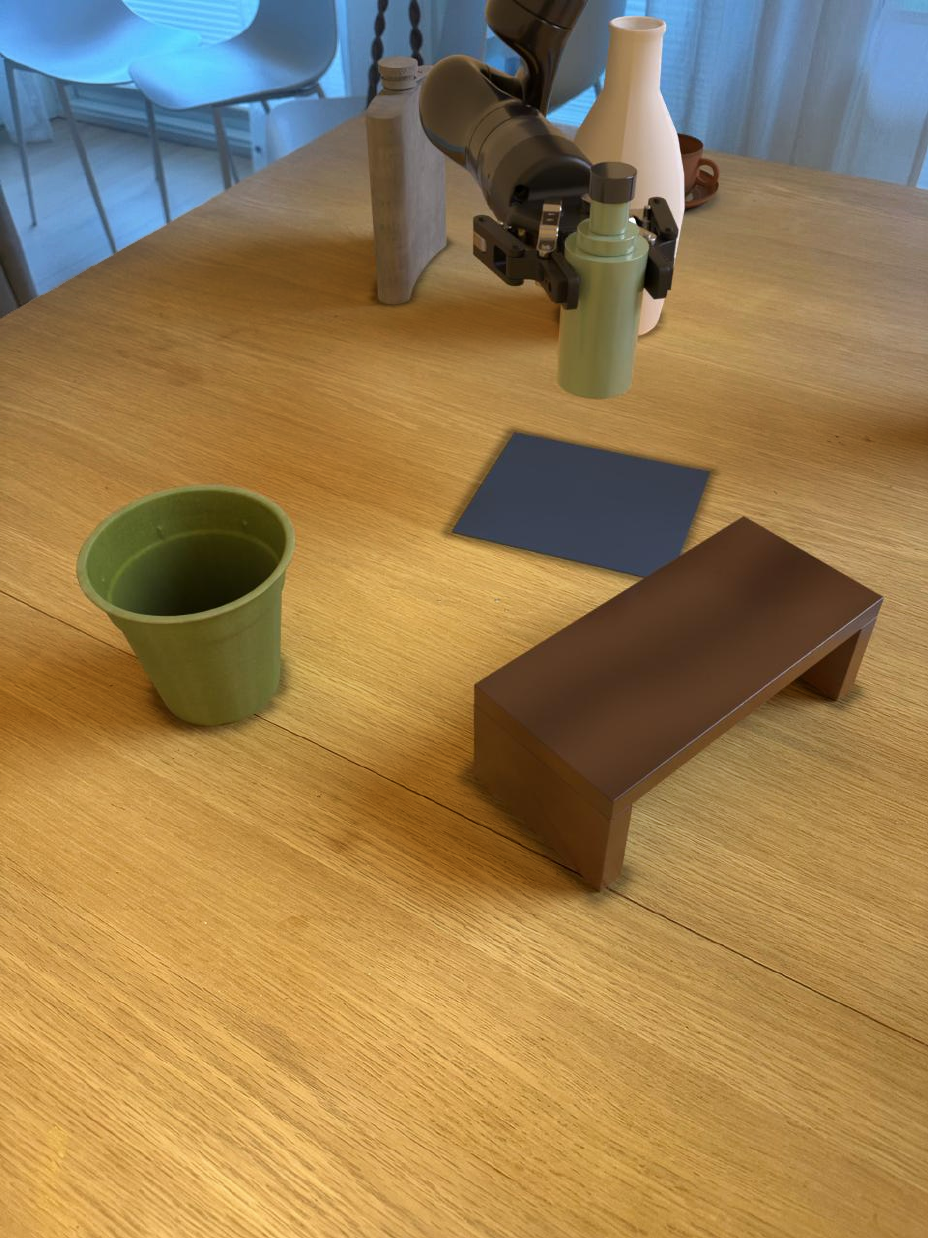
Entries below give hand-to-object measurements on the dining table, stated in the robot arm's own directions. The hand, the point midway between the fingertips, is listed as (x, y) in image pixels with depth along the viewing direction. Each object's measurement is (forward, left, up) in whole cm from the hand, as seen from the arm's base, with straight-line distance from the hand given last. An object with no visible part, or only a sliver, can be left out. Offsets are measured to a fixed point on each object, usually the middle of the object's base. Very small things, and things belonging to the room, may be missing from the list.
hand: (618, 289), depth 65 cm
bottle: (+7, -31, -18) cm, 37 cm away
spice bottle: (+2, -2, -8) cm, 8 cm away
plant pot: (+17, +24, -18) cm, 35 cm away
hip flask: (+29, -34, -18) cm, 49 cm away
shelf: (-10, +18, -18) cm, 27 cm away
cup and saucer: (+9, -62, -18) cm, 66 cm away
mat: (+1, -2, -18) cm, 19 cm away
